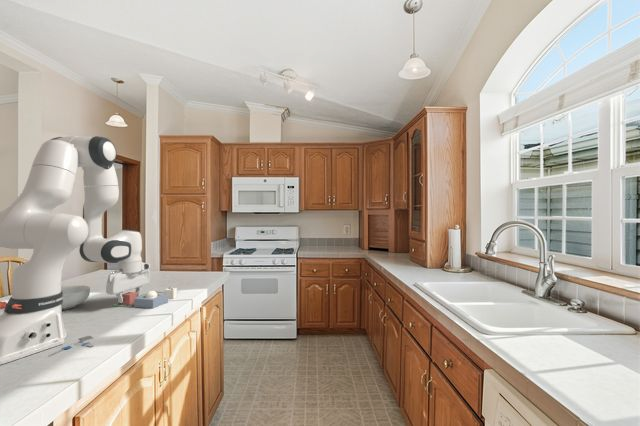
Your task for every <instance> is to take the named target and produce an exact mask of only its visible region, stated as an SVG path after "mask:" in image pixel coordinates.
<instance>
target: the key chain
mask: <svg viewBox="0 0 640 426" xmlns="http://www.w3.org/2000/svg"><path fill="white" fill-rule="evenodd" d="M92 339H94V337H93V336H92V335H86V336H83V337H79V338H78V339H77V340H78V342H75V343H70V344H68V346H64V347H62V348H61V349H60V350H58V351H55V352H53V353H51V354H49V355H48V357H51V356H52V355H55V354H57V353H60V352H61V351H64V350H68V349H73V348H74V347H72V346H71V345H74V346H76V345H78V346H81V347H89V348H93V347H94V346H95V345H94V344H91V343H90V342H89V341H88V340H92ZM85 341H88V342H85Z"/></svg>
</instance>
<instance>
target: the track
mask: <svg viewBox="0 0 640 426" xmlns="http://www.w3.org/2000/svg"><path fill="white" fill-rule="evenodd" d="M154 291H155V290H154ZM155 292H156V293H157V294H164V291H155ZM147 293H148V292H146V293H143V294H139V297H140V296H143V295H145V294H147ZM112 306H113V307H122V308H133V307H134V304H133V305H130V306H127V305H121V303H119V302H117V303H114V304H112Z"/></svg>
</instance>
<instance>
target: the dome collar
mask: <svg viewBox="0 0 640 426" xmlns="http://www.w3.org/2000/svg"><path fill="white" fill-rule="evenodd" d="M144 294H145V295H143V294H142V295H143V296H140V295H139V296H140V297H137V298H134V304H133V305H134V306H133V307H134V308H144V309H155V308H159V307H160V306H162V305H165V304H167V303H169V299H168V294H157V297H155V298H146V293H144Z"/></svg>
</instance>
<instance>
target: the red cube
mask: <svg viewBox="0 0 640 426" xmlns="http://www.w3.org/2000/svg"><path fill="white" fill-rule="evenodd" d="M122 297H123V298H125V301H124V302H122V303H121V304H120V305H125V306H127V305H128V306H132V305H134V298H137V293H135V291H134V292H131V291H129V292H125V293H123V294H122Z"/></svg>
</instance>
